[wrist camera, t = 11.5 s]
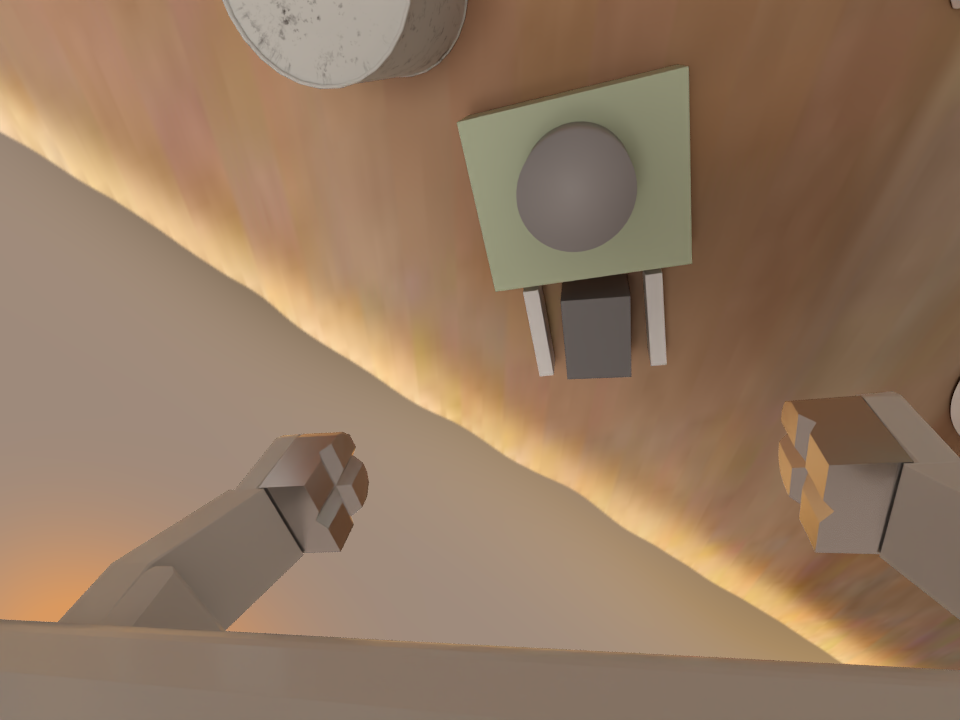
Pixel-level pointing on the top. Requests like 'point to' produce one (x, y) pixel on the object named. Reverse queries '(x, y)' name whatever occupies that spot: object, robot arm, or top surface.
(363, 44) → the grey concrete cylinder
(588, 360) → the dark grey box
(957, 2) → the syrup box
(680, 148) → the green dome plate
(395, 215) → the top surface
